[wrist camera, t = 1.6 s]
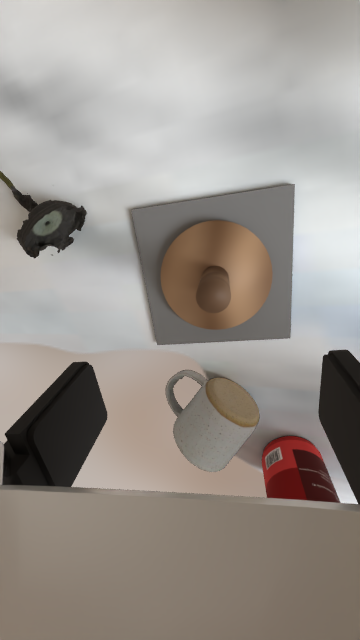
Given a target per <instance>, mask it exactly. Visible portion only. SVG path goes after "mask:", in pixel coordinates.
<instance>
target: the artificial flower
mask: <svg viewBox="0 0 360 640" xmlns="http://www.w3.org/2000/svg"><path fill="white" fill-rule="evenodd" d="M0 178H1V179H2V180H3V181H4V182H5V183H6V184H7V185H8V187H9V188H10V189H11V190H12V193H13V195H14V197H15V198H16V199H17V201H18V202H19V203H20V204H21V205H22V206H23V207H24V208H25V209H27V210H28V211H29V212H30V213H29V214H28V216H29V219H28V220H25V221H23V225H22V228H21V229H20V230H18V233H17V237H18V238H17V240H18V241H19V243H20V245H21V246H22V247H23V249H24V250H25V252H26V253H27V254H28V255H30V257H34V258H36V257H38V256H39V251H42V250H44V249H46V247H47V246H54V247H57V248H58V249H59V250H58V251H57V252H58V253H59V252H60V249H62V250H64V249H65V247H68V246H69V245H70V244H72V243H73V241H74V239H73V238H72V237H69V235H70V234H71V233H72V232H73V231H74V230H75V229H77V230H79V231H81V228H82V226H83V224H84V221H85V220H84V219H85V215H86V210H84V208H83V206H81V207H80V208H77V207H75V206H74V205H72V204H71V203H68V202H64V201H56V200H55V201H51V200H49V201H46V202H43V203H41V204H39V205H38V204H37V203H36V202H35V201H33V200H32V199H31V196H30V195H22V194H21V192H19V191H18V190H17V189H16V188H15V187H14V186H13V184H12V183H11V181H10V180H9V179H8V178H7V177H6V176H5V175H4V174H3V173H2V172H1V171H0ZM51 255H52V254H51Z"/></svg>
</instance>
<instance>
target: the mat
mask: <svg viewBox="0 0 360 640" xmlns="http://www.w3.org/2000/svg"><path fill="white" fill-rule="evenodd" d="M294 191H295V184H292V185H285V186H279V187H273V188H266V189H260V190H253V191H247V192H241V193H234V194H228V195H222V196H215V197H209V198H202V199H196V200H190V201H183V202H177V203H171V204H164V205H158V206H151V207H145V208H139V209H132V210H131V212H132V217H133V222H134V227H135V232H136V238H137V243H138V248H139V253H140V258H141V264H142V269H143V274H144V279H145V284H146V290H147V295H148V300H149V305H150V311H151V316H152V321H153V326H154V331H155V337H156V342H157V345H166V344H186V343H206V342H225V341H245V340H264V339H284V338H290V331H291V296H292V261H293V226H294ZM213 220H223V221H229V222H233V223H236V224H239V225H241V226H243V227H245V228H247V229H248V230H249V231H251V232H252V233H254V234H255V235H256V236H257V237H258V238H259V239H260V241H261V242H262V243H263V245H264V246H265V248H266V250H267V252H268V254H269V257H270V260H271V264H272V273H273V275H272V284H271V289H270V292H269V295H268V297H267V299H266V301H265V303H264V304H263V305H262V307H261V308H260V309H259V311H258V312H257V313H256V314H255V315H253V316H252V317H251V318H250V319H248V320H247V321H245V322H244V323H242V324H240V325H237V326H235V327H232V328H227V329H221V330H210V329H204V328H199V327H197V326H194V325H192V324H190V323H188V322H186V321H185V320H183V319H182V318H180V317H179V316H178V315H177V314H176V313H175V312H174V311H173V310H172V308H171V307H170V306H169V304H168V302H167V300H166V299H165V296H164V293H163V290H162V286H161V267H162V262H163V259H164V256H165V254H166V252H167V250H168V248H169V247H170V245H171V244H172V242H173V241H174V240H175V239H176V238H177V237H178V236H179V235H180V234H181V233H183V232H184V231H185V230H187V229H188V228H190V227H192V226H194V225H196V224H199V223H202V222H206V221H213Z"/></svg>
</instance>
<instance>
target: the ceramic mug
mask: <svg viewBox="0 0 360 640" xmlns="http://www.w3.org/2000/svg"><path fill="white" fill-rule="evenodd" d="M184 376H187V377H191V378H192V379H194V380H195V381H197V382H198V383H199V384H200V385H201V386H202V387H201V389H200V390H199V391H198V392H197V394H196V395H195V396H194V398H193V399H192V401H191V402H190V403H189V404H188V405H187V406H186V408H185V409H184V410H183V409H182V408H181V406H180V405H179V404H178V402H177V401H176V399H175V397H174V393H173V387H174V385H175V384H176V382H177V381H178V380H179V379H182V378H183V377H184ZM166 398H167V401H168V403H169V405H170V407H171V409H172V410H173V412H174V413H175V414H176V416H177V417H178V418H177V420H176V421H175V424H174V429H173V433H174V438H175V441H176V444H177V446H178V448H179V449H180V451H181V452H182V454H183V455H184V456H185V457H186V458H187V460H188V461H190V462H191V463H192V464H193V465H195V466H197V467H198V468H199V469H202V470H204V471H209V472H217V471H220V470H222V469H223V468H225V466H226V465H227V464H228V463H229V461H230V460H231V459H232V458H233V456H234V455H235V454H236V453H237V451H238V450H239V449H240V448H241V446H242V445H243V444H244V442H245V441H246V440H247V439H248V438H249V437H250V435H251V434H252V433H253V431H254V429H255V427H256V425H257V423H258V421H259V410H258V407H257V405H256V403H255V401H254V399H253V398H252V397H251V396H250V394H249V393H248V392H247V391H246V390H245V389H244V388H242V387H241V386H239V385H238V384H237V383H235V382H233V381H231V380H228V379H225V378H213V379H210V380H209V381H207V380H206V379H205V378H204V377H203V376H202V375H201V374H199V373H197V372H195V371H192V370H183V371H180V372H178V373H177V374H175V375H174V376H173V377H172V378H171V379H170V380H169V381H168V383H167V386H166Z"/></svg>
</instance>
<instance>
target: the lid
mask: <svg viewBox="0 0 360 640" xmlns="http://www.w3.org/2000/svg"><path fill="white" fill-rule="evenodd" d="M272 275H273V273H272V264H271V260H270V257H269V254H268V252H267V250H266V248H265V246H264V245H263V243H262V242H261V241H260V239H259V238H258V237H257V236H256V235H255V234H254V233H252V232H251V231H249V230H248V229H247V228H245V227H243V226H241V225H239V224H236V223H233V222H229V221H223V220H213V221H206V222H202V223H199V224H196V225H194V226H192V227H190V228H188V229H187V230H185V231H184V232H183V233H181V234H180V235H179V236H178V237H177V238H176V239H175V240H174V241H173V242H172V244H171V245H170V247H169V248H168V250H167V252H166V254H165V256H164V259H163V262H162V267H161V286H162V290H163V293H164V296H165V299H166V300H167V302H168V304H169V306H170V307H171V308H172V310H173V311H174V312H175V313H176V314H177V315H178V316H179V317H180V318H182V319H183V320H185V321H186V322H188V323H190V324H192V325H194V326H197V327H199V328H204V329H210V330H221V329H227V328H232V327H235V326H237V325H240V324H242V323H244V322H245V321H247V320H248V319H250V318H251V317H252V316H253V315H255V314H256V313H257V312H258V311H259V309H260V308H261V307H262V305H263V304H264V303H265V301H266V299H267V297H268V295H269V292H270V289H271V284H272Z"/></svg>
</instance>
